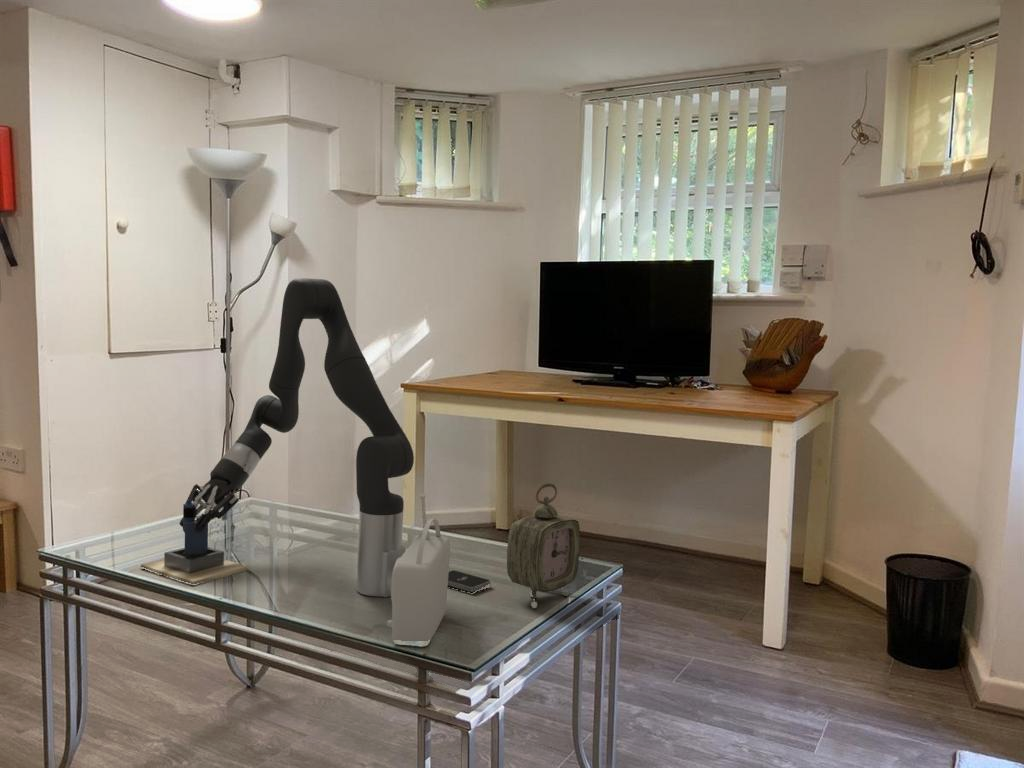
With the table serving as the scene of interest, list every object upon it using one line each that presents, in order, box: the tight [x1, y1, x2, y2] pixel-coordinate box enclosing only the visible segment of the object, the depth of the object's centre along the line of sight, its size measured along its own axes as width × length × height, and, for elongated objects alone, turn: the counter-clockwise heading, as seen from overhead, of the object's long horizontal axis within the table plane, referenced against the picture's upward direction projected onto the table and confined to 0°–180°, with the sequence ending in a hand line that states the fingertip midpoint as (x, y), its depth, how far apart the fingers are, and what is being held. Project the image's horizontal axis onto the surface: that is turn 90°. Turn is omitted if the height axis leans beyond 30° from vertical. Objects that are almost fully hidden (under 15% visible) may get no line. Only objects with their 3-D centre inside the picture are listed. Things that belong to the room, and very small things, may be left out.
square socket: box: [163, 546, 225, 574], centre depth 177 cm, size 9×9×3 cm
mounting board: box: [140, 558, 248, 584], centre depth 177 cm, size 18×14×1 cm
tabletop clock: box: [506, 482, 581, 600], centre depth 168 cm, size 14×9×25 cm, turn 139°
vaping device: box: [182, 499, 209, 555], centre depth 177 cm, size 3×5×12 cm, turn 111°
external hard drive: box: [448, 569, 491, 593], centre depth 175 cm, size 7×11×2 cm, turn 55°
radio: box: [386, 493, 451, 641], centre depth 148 cm, size 22×8×25 cm, turn 175°
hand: (189, 528), depth 175 cm, fingers closed on vaping device, 4 cm apart
